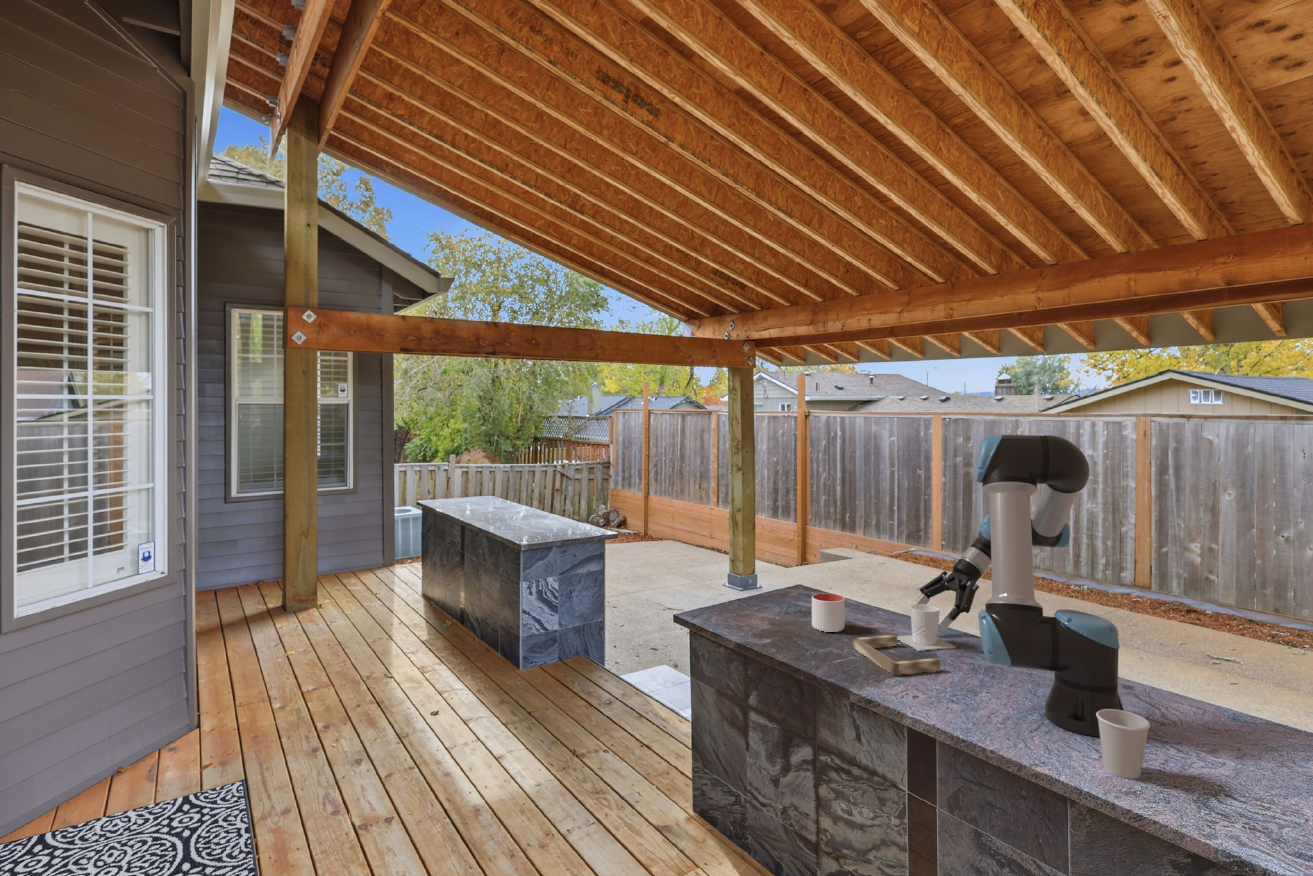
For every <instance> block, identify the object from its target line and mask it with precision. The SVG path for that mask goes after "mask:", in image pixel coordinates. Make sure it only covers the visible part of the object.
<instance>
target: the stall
mask: <svg viewBox="0 0 1313 876" xmlns="http://www.w3.org/2000/svg"><path fill="white" fill-rule="evenodd" d="M851 640H852V641H851V648H852V647H853V648H854V649H856V650H857V651H858V652H859V653H861V654H863V655H864V656H866V657H867V658H869V659H870V660H872V661H873V662H875V663H876V664H877V665H876V664H875V663H874V664H875V665H876V666H878V665H879V666H880V668H881V667H882V668H883V669H882V668H881V669H882V670H884V669H885V670H887V671H888V672H890V673H891V674H893V675H898V676H902V675H901V674H908V675H915V674H916V673H918V674H923V673H922V672H928V673H936V671H938V672H940V670H941V659H939V658H938V657H933V658H932V657H931V658H923V659H920V658H919V659H911V660H900V661H895V660H893V659H892V658H890V657H888V655H885V654H883V653H882V652H880V651H879V650H878V648H877V647H888V648H892V647H891V646H897V647H898V640H897V635H895V634H888V635H887V634H886V635H876V636H874V635H873V636H865V637H862V636H861V637H855V638H854V637H853V638H851ZM874 648H877V649H874ZM858 652H857V653H858ZM859 653H858V654H859ZM861 654H860V655H861ZM864 656H863V657H864ZM866 657H865V658H866ZM867 658H866V659H867ZM869 659H868V660H869ZM870 660H869V661H870ZM872 661H871V662H872ZM873 662H872V663H873ZM879 666H878V667H879ZM885 670H884V671H885ZM887 671H886V672H887ZM888 672H887V673H888ZM890 673H889V674H890ZM891 674H890V675H891ZM893 675H892V676H893ZM916 675H917V674H916Z"/></svg>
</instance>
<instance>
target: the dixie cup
mask: <svg viewBox="0 0 1313 876" xmlns="http://www.w3.org/2000/svg"><path fill="white" fill-rule="evenodd" d="M1096 716H1097V718H1098V723H1099V731H1100V737H1099V738H1100V746H1101V755H1102V762H1103V768H1104V770H1105V771H1107V772H1108V773H1110V774H1111V775H1113V776H1115V777H1119V778H1123V779H1132V780H1134V779H1135V780H1136V779H1139V778H1140V777H1141V773H1142V769H1143V763H1144V756H1145V751H1146V747H1147V740H1148V733H1149V729H1150V728H1151V723H1150V721H1149V720H1147V719H1145V717H1143V716H1141V715H1139V714H1136V713H1133V712H1130V711H1126V710H1124V711H1122V710H1116V709H1103V710H1100V711H1098V712H1097V713H1096Z"/></svg>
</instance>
